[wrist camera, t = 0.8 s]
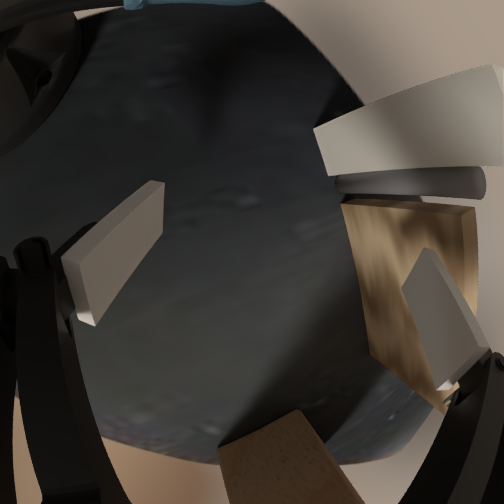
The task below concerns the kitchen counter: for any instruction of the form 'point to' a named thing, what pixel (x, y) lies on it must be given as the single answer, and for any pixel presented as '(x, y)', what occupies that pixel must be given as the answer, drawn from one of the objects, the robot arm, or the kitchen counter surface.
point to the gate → (397, 270)
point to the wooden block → (284, 467)
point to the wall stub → (421, 138)
